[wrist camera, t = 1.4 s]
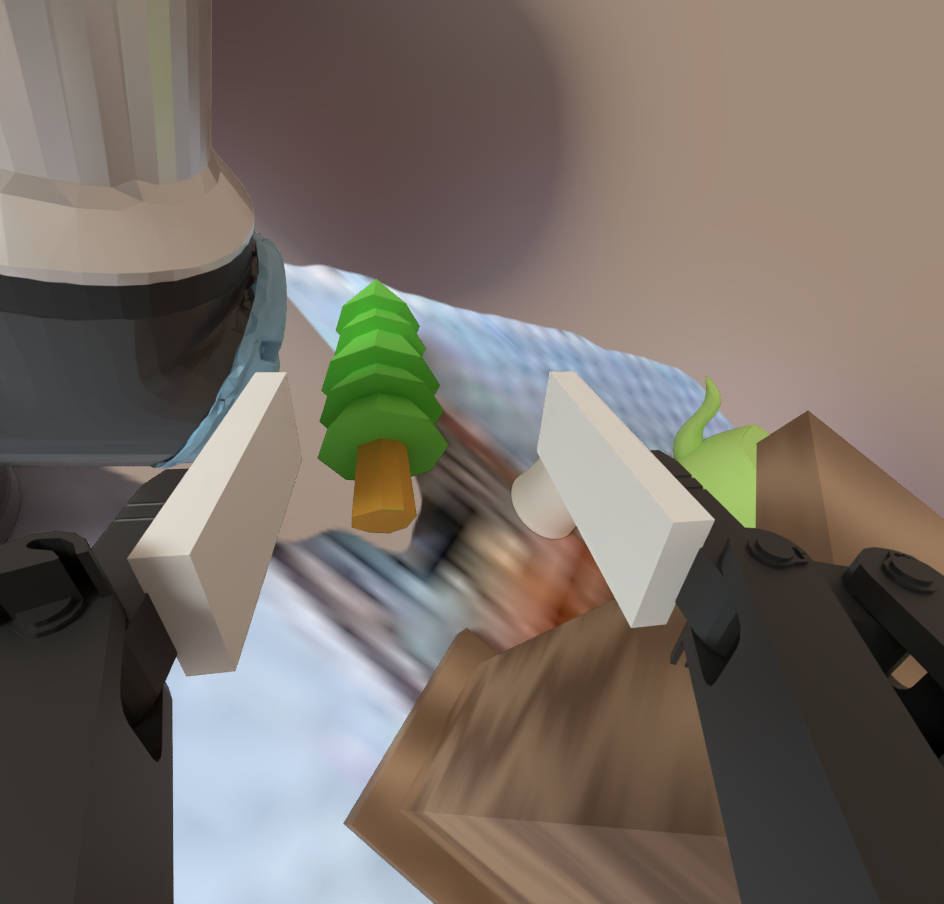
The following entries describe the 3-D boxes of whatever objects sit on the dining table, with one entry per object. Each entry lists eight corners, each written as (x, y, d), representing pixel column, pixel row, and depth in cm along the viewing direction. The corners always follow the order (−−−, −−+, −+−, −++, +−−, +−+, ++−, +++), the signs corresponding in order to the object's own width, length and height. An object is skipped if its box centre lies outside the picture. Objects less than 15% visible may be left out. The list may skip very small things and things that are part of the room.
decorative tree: (375, 471, 27) (368, 210, 43) (280, 533, 33) (304, 283, 49) (488, 511, 35) (447, 278, 51) (395, 556, 41) (384, 334, 56)
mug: (508, 443, 53) (565, 376, 44) (566, 463, 56) (630, 403, 47) (512, 529, 45) (582, 469, 37) (578, 547, 48) (658, 494, 40)
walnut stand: (598, 1048, 26) (2440, 2250, 4) (343, 823, 26) (898, 943, 5) (643, 793, 36) (1285, 792, 14) (457, 634, 36) (807, 410, 15)
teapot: (770, 536, 67) (883, 484, 56) (738, 621, 53) (881, 574, 42) (656, 418, 73) (737, 350, 62) (598, 466, 58) (691, 387, 47)
